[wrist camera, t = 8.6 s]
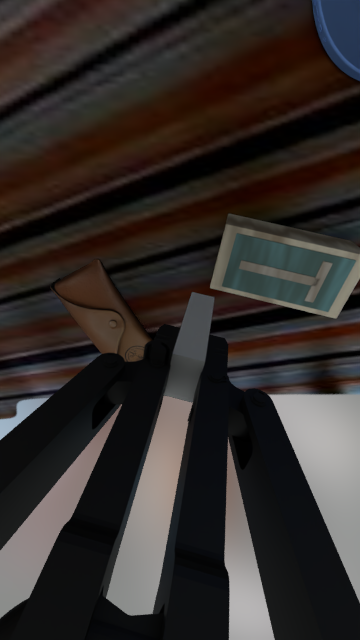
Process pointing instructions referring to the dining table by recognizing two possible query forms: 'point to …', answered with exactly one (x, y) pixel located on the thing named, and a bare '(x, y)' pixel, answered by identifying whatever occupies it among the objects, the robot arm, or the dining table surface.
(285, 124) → the dining table surface
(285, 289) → the cream and teal box
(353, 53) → the water jug
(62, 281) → the sunglasses case
